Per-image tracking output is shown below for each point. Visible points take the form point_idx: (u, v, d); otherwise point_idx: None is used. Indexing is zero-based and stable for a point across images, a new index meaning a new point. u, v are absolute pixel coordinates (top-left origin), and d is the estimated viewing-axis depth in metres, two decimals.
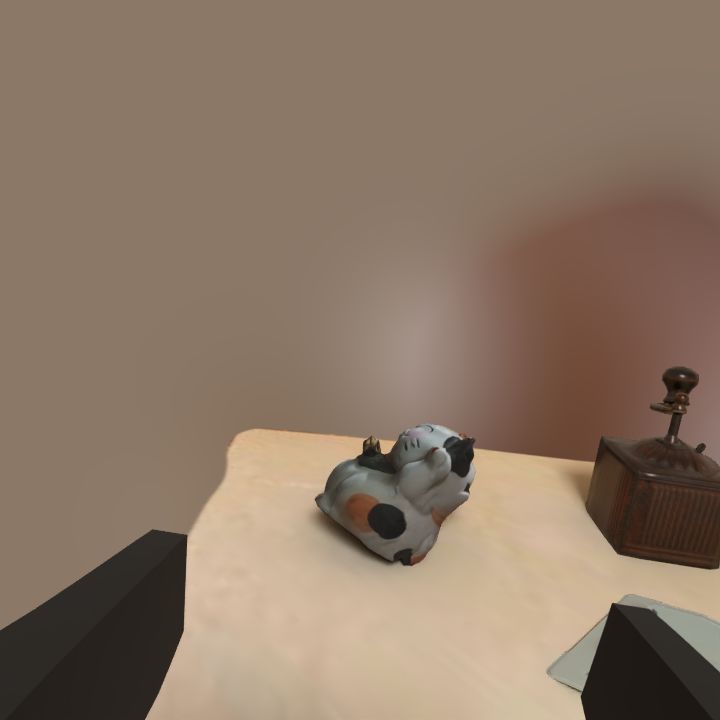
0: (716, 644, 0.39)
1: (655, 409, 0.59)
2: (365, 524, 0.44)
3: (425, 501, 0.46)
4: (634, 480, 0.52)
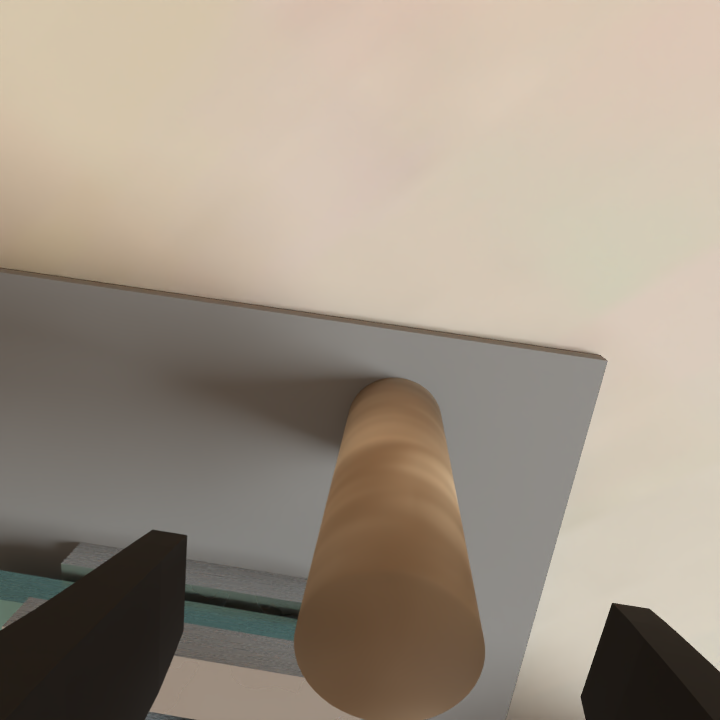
0: None
1: None
2: None
3: None
4: None
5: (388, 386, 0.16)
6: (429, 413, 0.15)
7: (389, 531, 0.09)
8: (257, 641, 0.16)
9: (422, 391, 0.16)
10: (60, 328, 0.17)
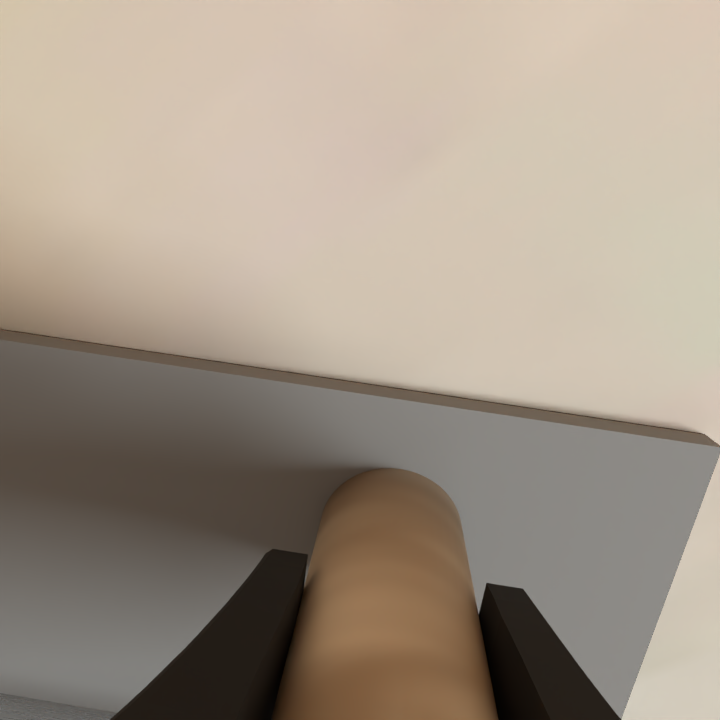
0: None
1: None
2: None
3: None
4: None
5: (379, 489, 0.10)
6: (446, 546, 0.09)
7: None
8: None
9: (433, 493, 0.10)
10: None
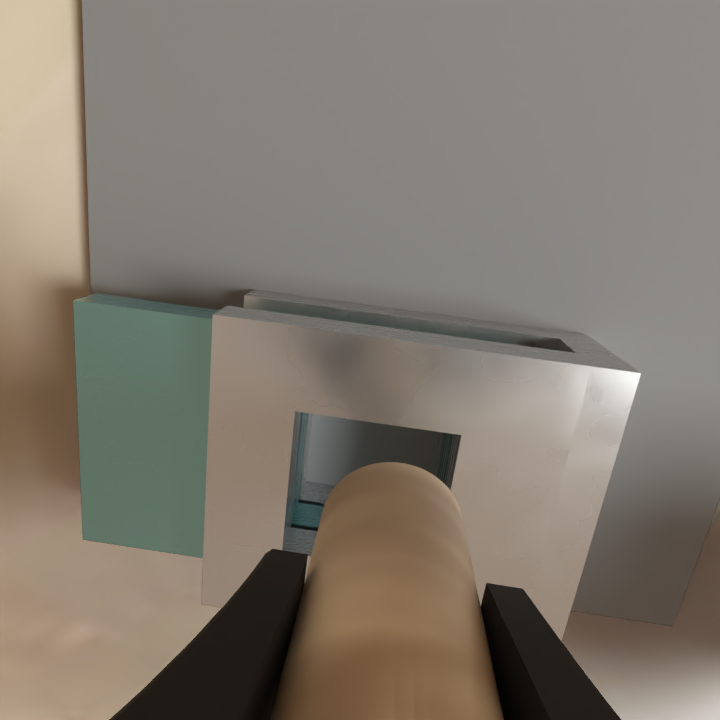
0: None
1: None
2: None
3: None
4: None
5: (385, 482, 0.10)
6: (452, 540, 0.09)
7: None
8: (496, 344, 0.14)
9: (438, 489, 0.10)
10: (255, 6, 0.15)
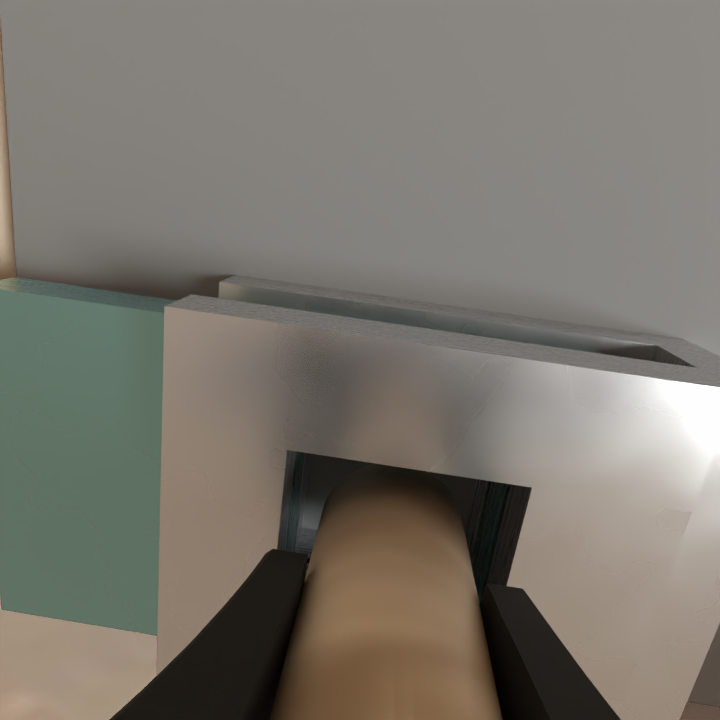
0: None
1: None
2: None
3: None
4: None
5: (384, 482, 0.10)
6: (451, 541, 0.09)
7: None
8: (582, 354, 0.10)
9: (437, 490, 0.10)
10: None
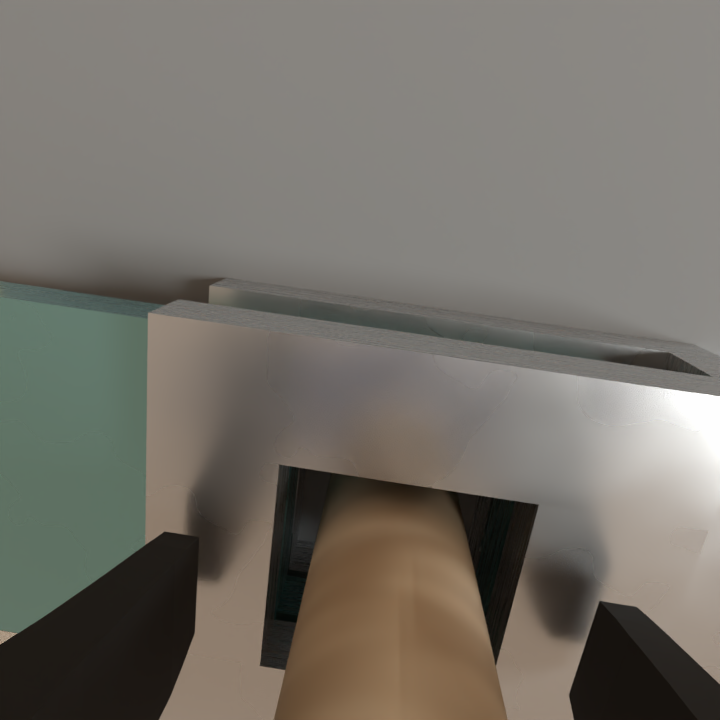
0: None
1: None
2: None
3: None
4: None
5: None
6: None
7: None
8: (591, 362, 0.09)
9: None
10: None
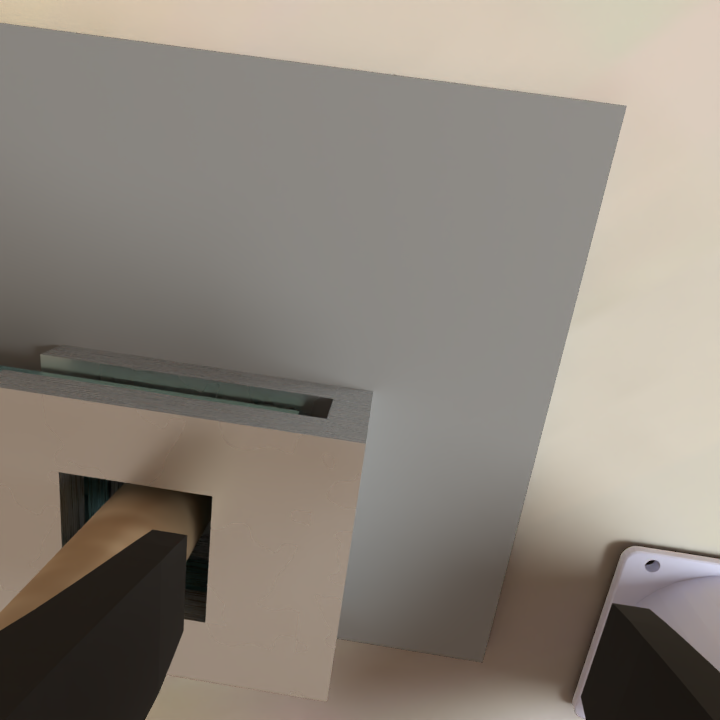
0: None
1: None
2: None
3: None
4: None
5: None
6: None
7: None
8: (249, 410, 0.15)
9: None
10: (38, 86, 0.16)
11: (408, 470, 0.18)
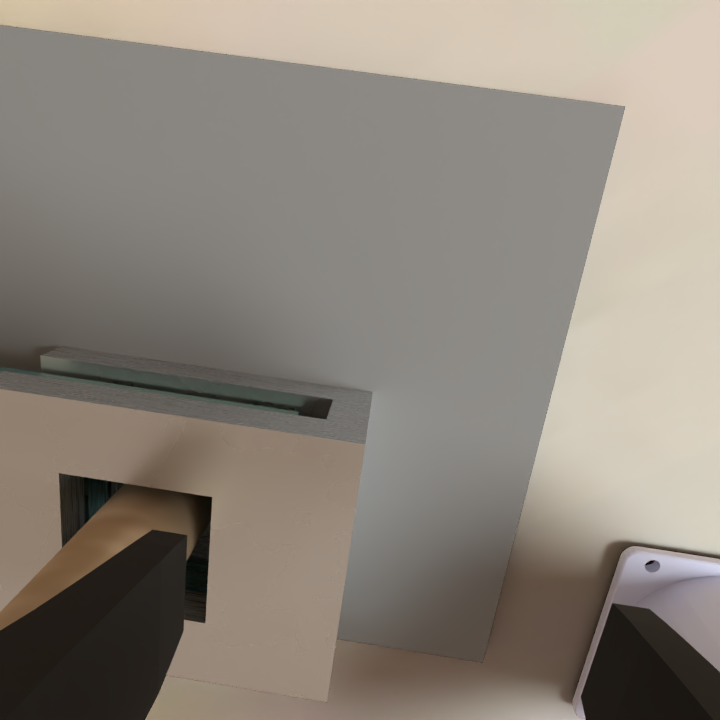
0: None
1: None
2: None
3: None
4: None
5: None
6: None
7: None
8: (248, 411, 0.15)
9: None
10: (37, 88, 0.16)
11: (408, 470, 0.18)
